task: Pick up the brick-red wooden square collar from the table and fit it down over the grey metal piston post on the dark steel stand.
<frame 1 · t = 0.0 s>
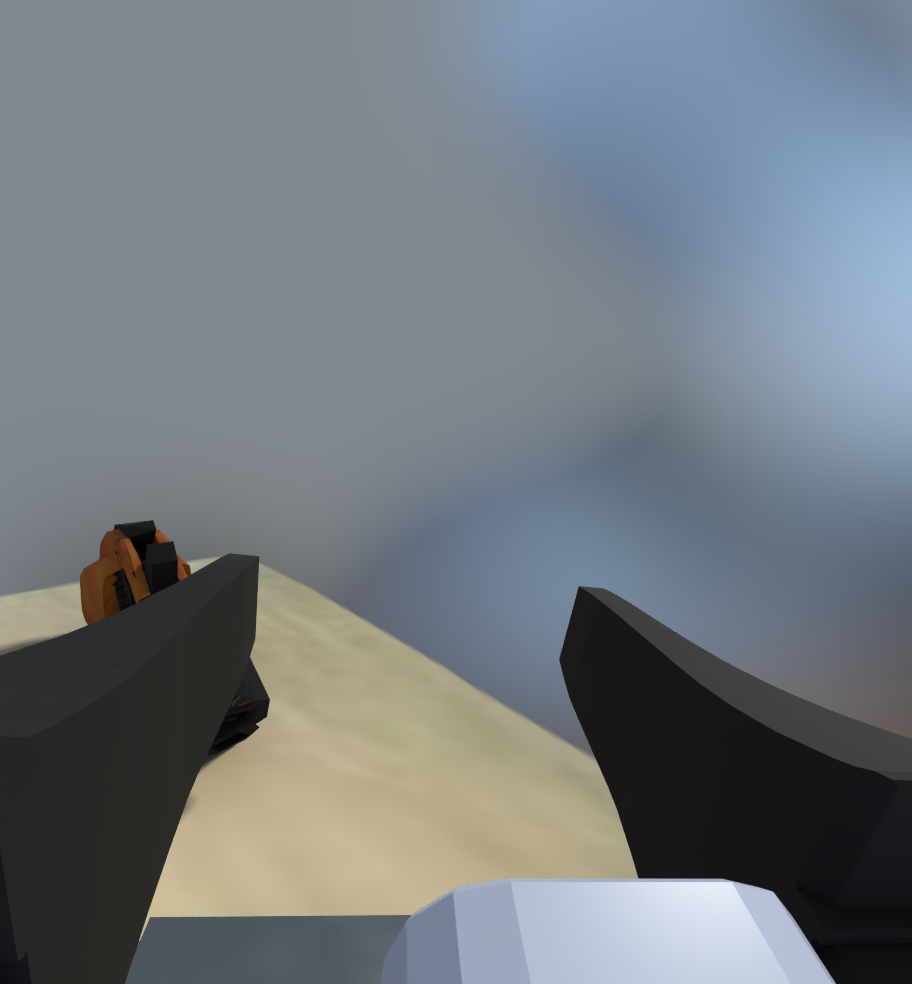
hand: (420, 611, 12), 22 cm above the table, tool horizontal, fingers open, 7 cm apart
tool: (163, 698, 39), on the table
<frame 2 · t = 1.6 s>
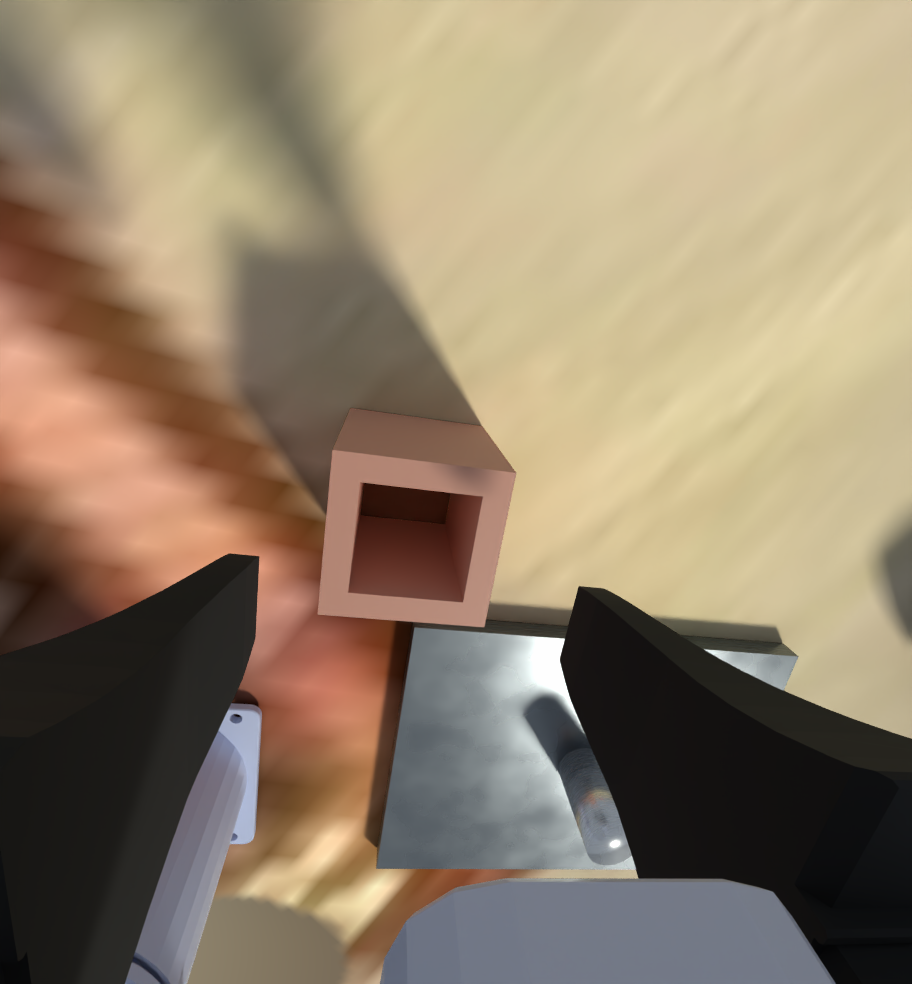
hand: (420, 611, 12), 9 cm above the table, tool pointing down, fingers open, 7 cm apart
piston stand: (574, 749, 26), on the table
collar: (408, 479, 21), on the table
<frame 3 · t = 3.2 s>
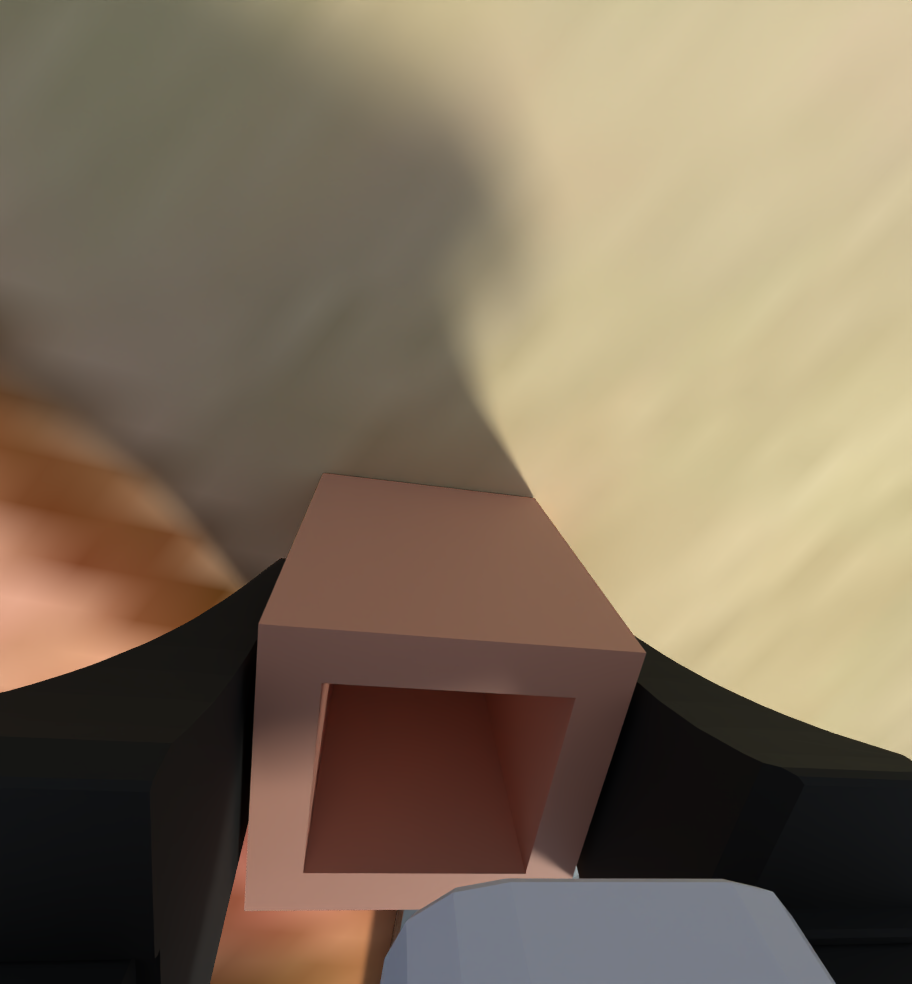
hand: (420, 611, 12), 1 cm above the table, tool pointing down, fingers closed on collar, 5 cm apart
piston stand: (645, 927, 19), on the table
collar: (417, 580, 13), on the table, touching gripper
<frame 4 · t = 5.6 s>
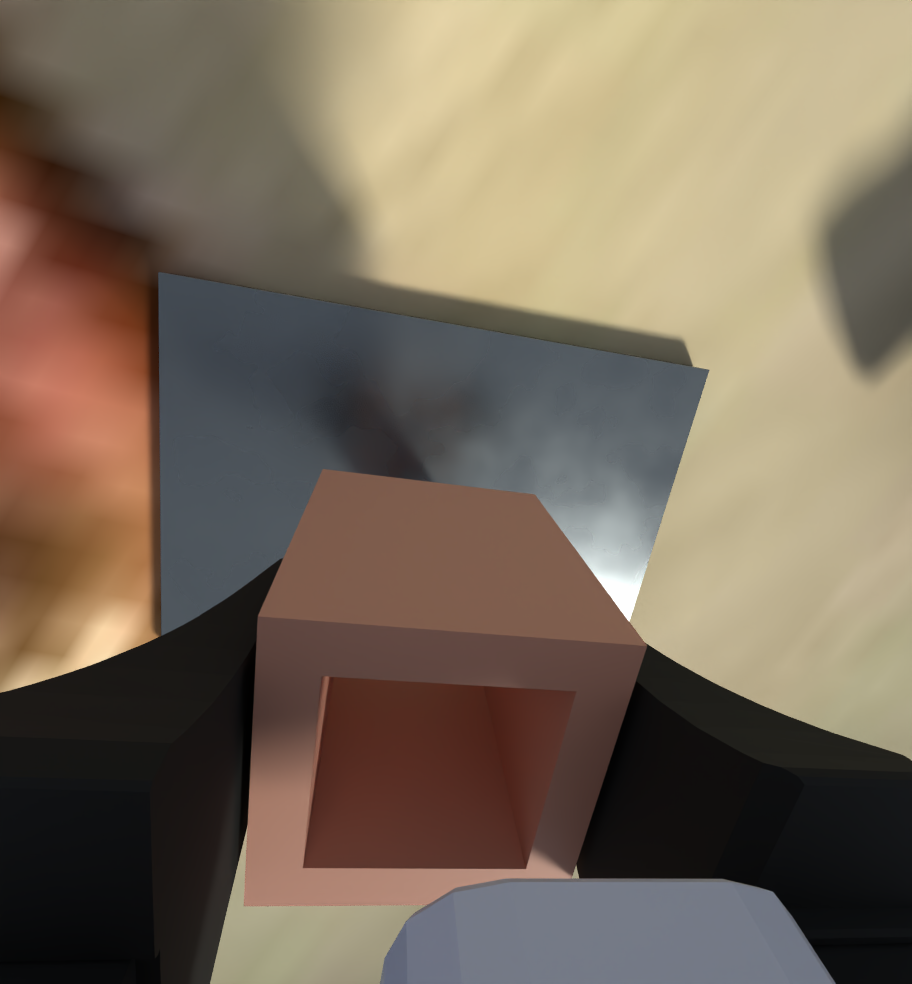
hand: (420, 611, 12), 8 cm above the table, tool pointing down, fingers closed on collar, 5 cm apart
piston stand: (423, 513, 20), on the table
collar: (417, 576, 13), point 7 cm above the table, touching gripper
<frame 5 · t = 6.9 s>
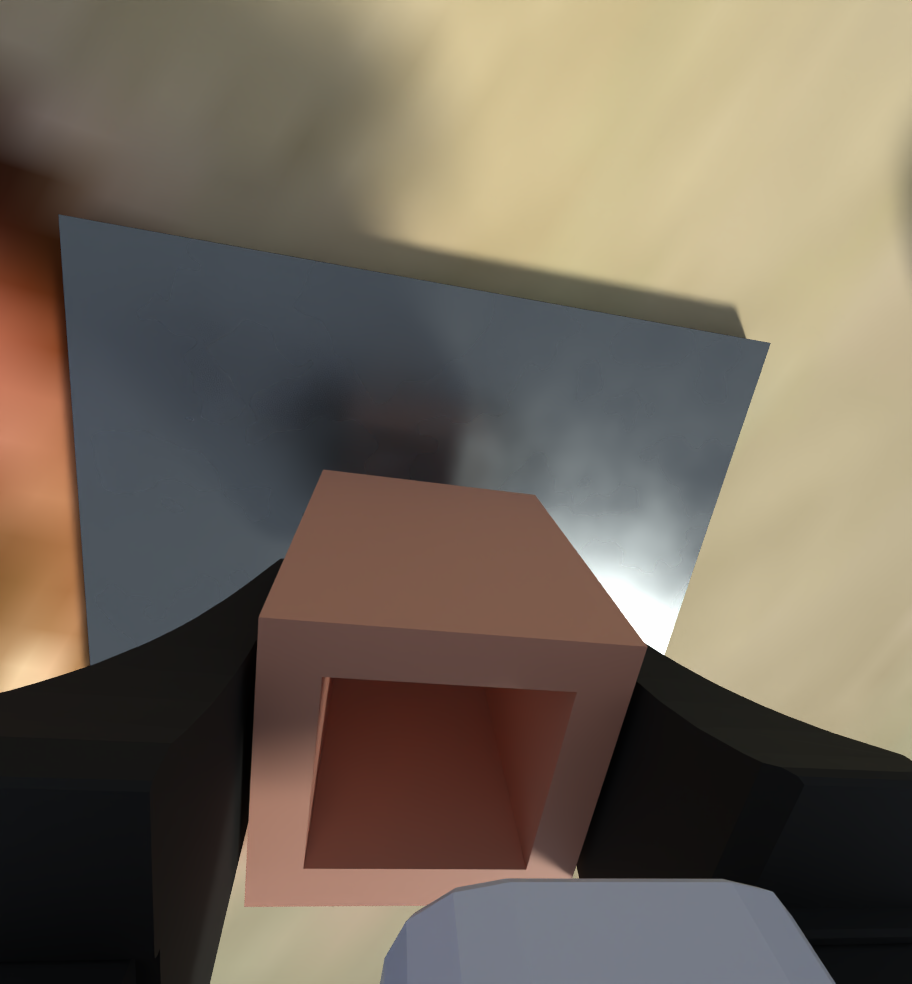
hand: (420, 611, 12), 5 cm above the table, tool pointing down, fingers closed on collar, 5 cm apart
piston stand: (413, 525, 16), on the table
collar: (417, 577, 13), point 3 cm above the table, touching gripper
when the fingers open (5 cm above the table, at t = 7.8 s): collar drops 2 cm, resting on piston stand.
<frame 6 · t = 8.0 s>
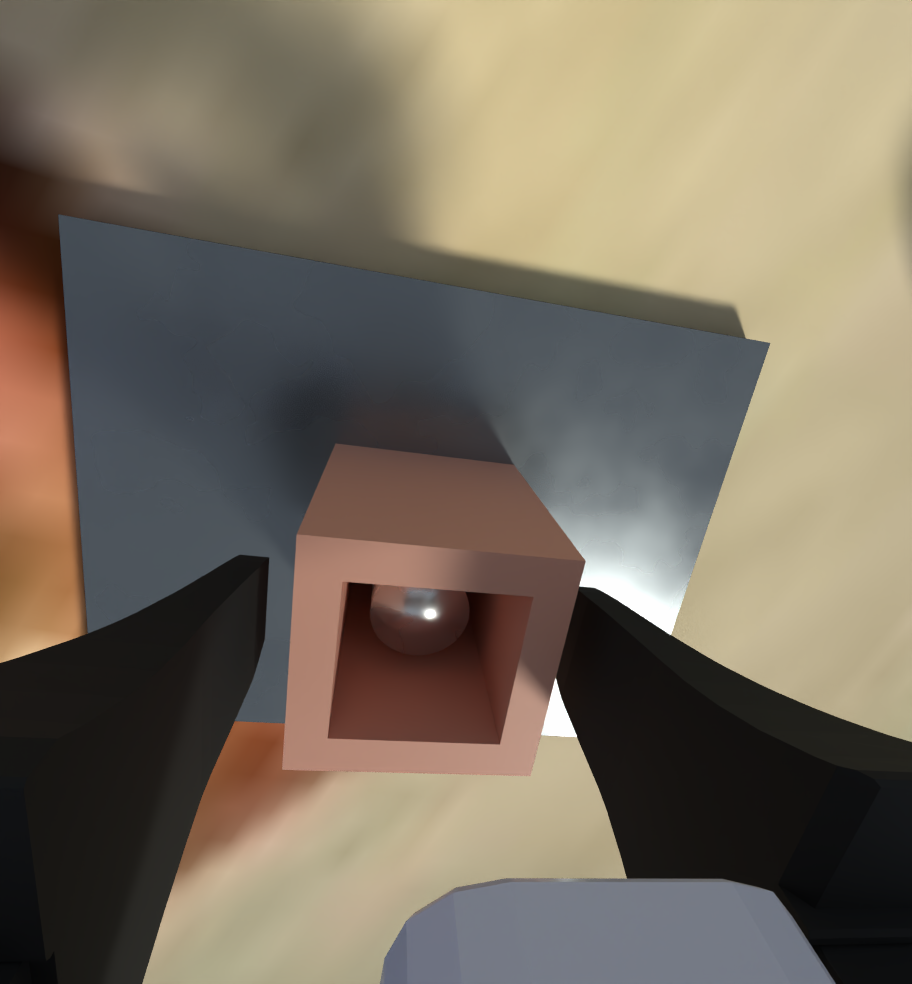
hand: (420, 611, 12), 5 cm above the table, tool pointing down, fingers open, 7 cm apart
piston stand: (413, 525, 16), on the table
collar: (415, 536, 15), point 1 cm above the table, touching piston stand
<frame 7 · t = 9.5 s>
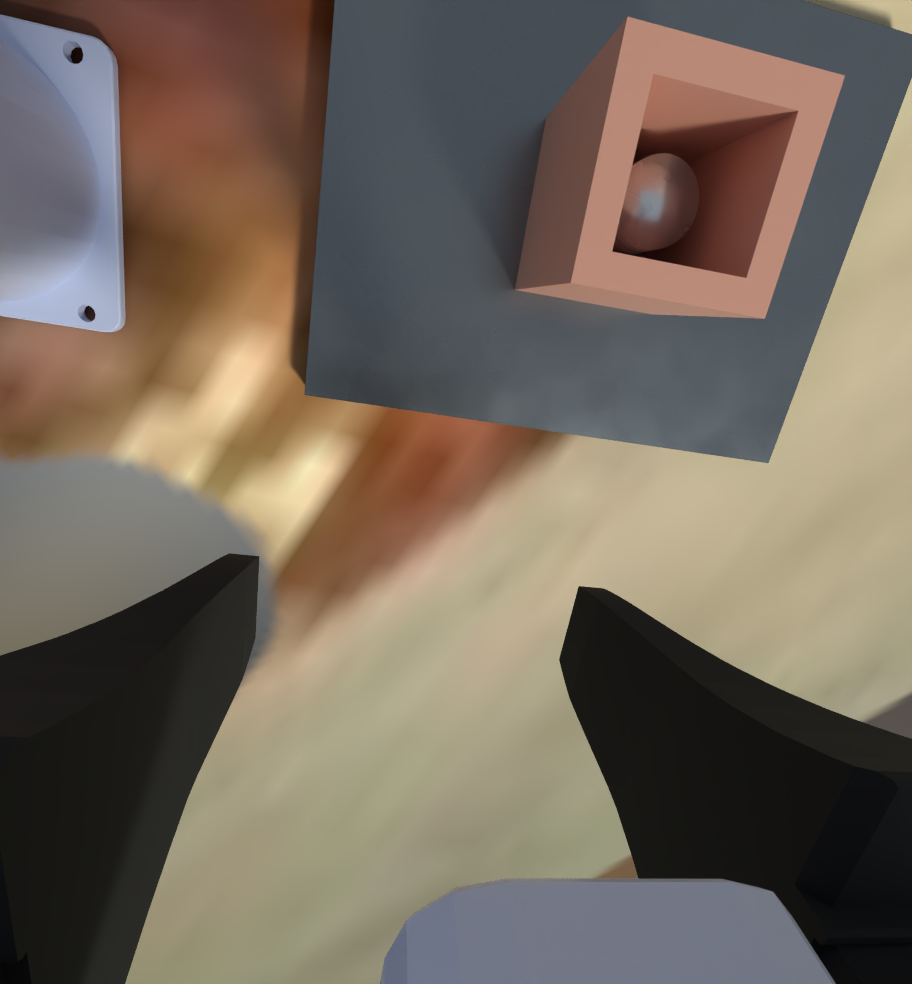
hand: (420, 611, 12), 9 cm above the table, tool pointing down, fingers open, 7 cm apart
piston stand: (590, 228, 18), on the table
collar: (602, 222, 17), point 1 cm above the table, touching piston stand
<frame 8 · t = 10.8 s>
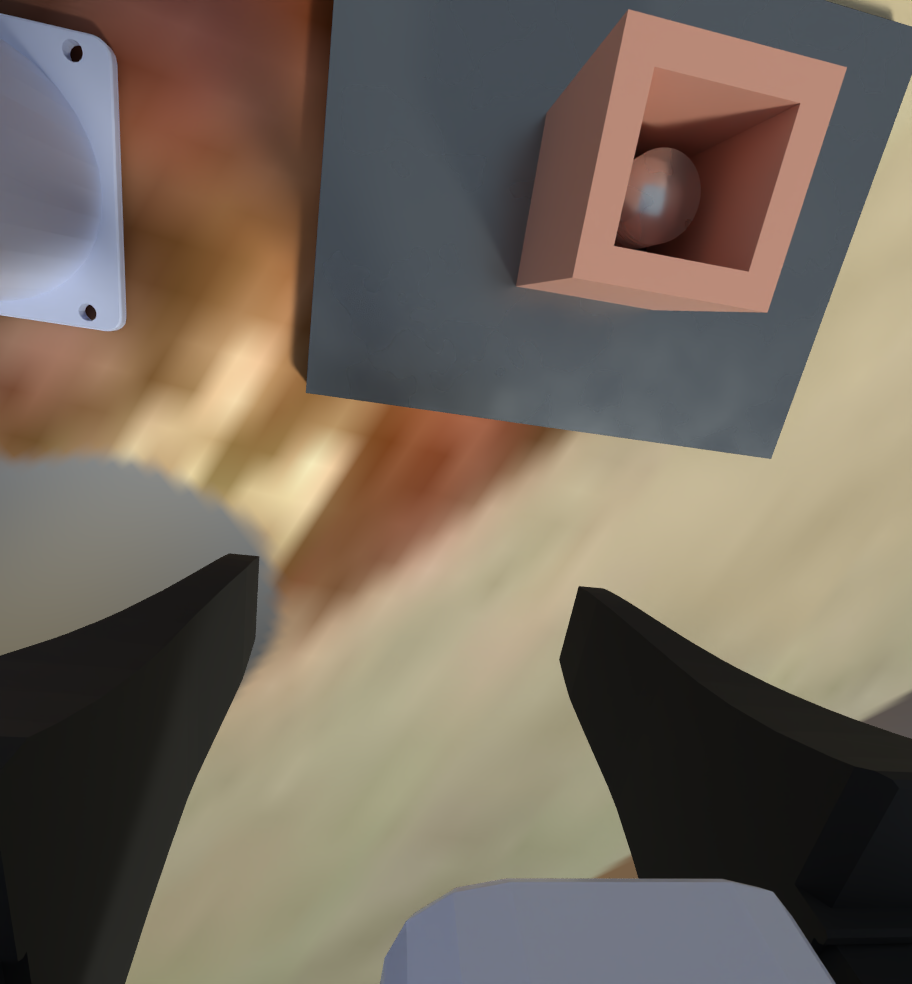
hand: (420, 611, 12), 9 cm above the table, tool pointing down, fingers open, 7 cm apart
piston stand: (591, 224, 18), on the table
collar: (603, 218, 17), point 1 cm above the table, touching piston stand
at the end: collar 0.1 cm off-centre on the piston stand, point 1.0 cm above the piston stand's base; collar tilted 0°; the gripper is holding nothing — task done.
